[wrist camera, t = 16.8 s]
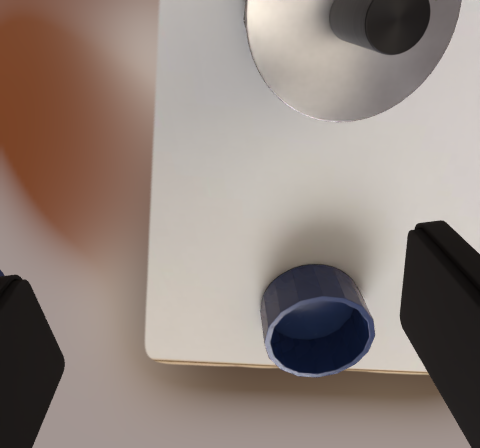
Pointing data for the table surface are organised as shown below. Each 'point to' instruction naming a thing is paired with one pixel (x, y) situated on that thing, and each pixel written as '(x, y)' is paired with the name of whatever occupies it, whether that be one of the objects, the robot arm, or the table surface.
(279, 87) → the lid
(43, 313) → the robot arm
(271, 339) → the blue faceted bowl
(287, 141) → the table surface
